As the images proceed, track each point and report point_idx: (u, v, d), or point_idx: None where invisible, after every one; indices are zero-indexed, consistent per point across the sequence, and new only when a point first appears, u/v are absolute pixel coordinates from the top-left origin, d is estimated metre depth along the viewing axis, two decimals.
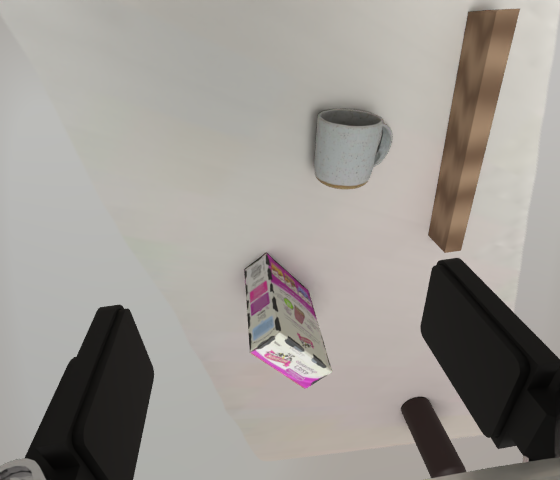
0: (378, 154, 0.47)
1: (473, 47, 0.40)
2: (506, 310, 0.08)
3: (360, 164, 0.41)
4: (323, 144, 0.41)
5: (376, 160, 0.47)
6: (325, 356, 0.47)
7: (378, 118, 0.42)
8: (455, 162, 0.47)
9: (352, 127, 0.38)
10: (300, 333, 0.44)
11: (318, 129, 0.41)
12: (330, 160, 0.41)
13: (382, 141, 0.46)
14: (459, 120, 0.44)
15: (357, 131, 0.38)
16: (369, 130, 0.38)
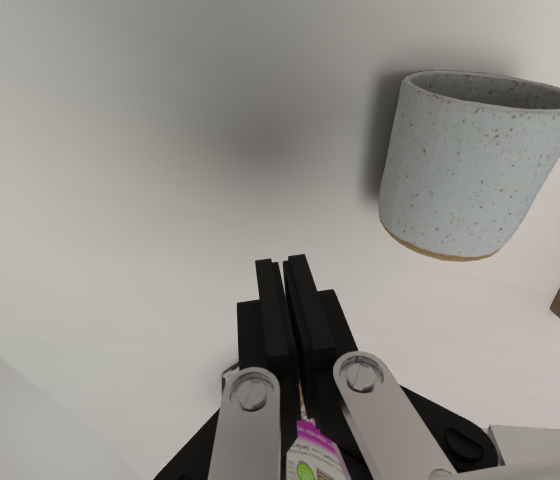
0: None
1: None
2: (316, 301, 0.09)
3: (515, 209, 0.16)
4: (420, 157, 0.16)
5: None
6: None
7: (554, 91, 0.17)
8: None
9: (526, 113, 0.13)
10: None
11: (406, 118, 0.16)
12: (438, 199, 0.16)
13: None
14: None
15: (538, 125, 0.13)
16: None
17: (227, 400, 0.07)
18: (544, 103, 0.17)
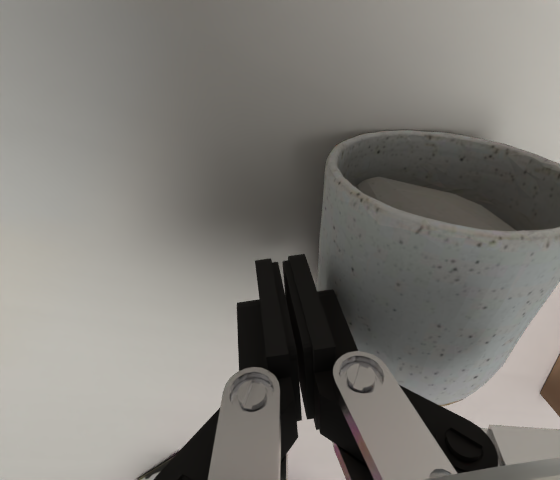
0: None
1: None
2: (316, 301, 0.09)
3: (495, 354, 0.10)
4: (349, 276, 0.10)
5: None
6: None
7: (549, 168, 0.11)
8: None
9: (501, 239, 0.08)
10: None
11: (329, 215, 0.11)
12: (378, 337, 0.11)
13: None
14: None
15: (522, 255, 0.08)
16: None
17: (227, 400, 0.07)
18: (536, 182, 0.12)
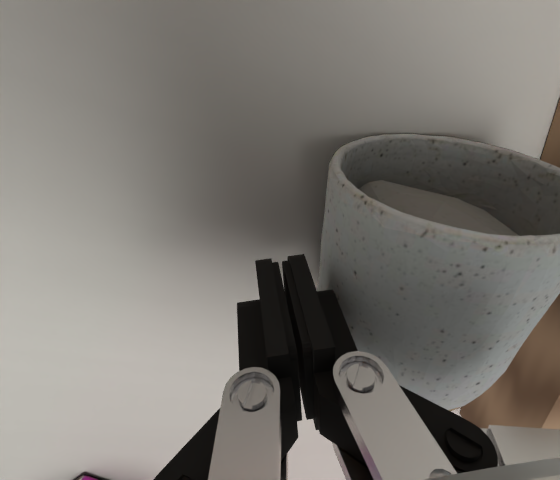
0: None
1: None
2: (315, 301, 0.09)
3: (498, 360, 0.10)
4: (351, 280, 0.10)
5: None
6: None
7: (553, 173, 0.11)
8: (554, 305, 0.16)
9: (506, 243, 0.08)
10: None
11: (331, 218, 0.11)
12: (380, 341, 0.10)
13: None
14: None
15: (528, 261, 0.08)
16: None
17: (227, 400, 0.07)
18: (540, 188, 0.12)
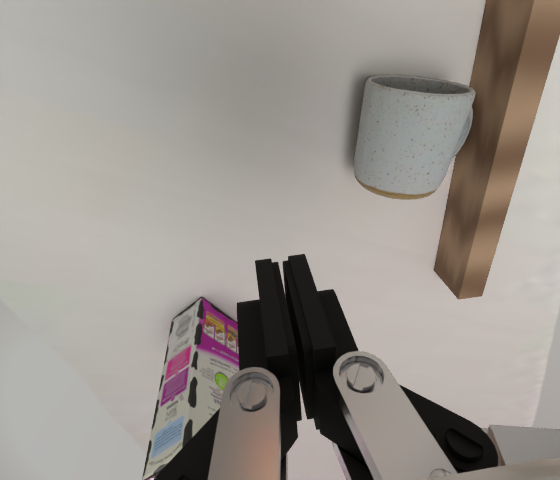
0: None
1: None
2: (316, 301, 0.09)
3: (435, 160, 0.25)
4: (376, 126, 0.25)
5: None
6: None
7: (462, 87, 0.26)
8: (475, 168, 0.30)
9: (432, 95, 0.22)
10: None
11: (367, 102, 0.25)
12: (387, 152, 0.25)
13: None
14: (483, 102, 0.28)
15: (439, 103, 0.22)
16: (459, 102, 0.23)
17: (227, 400, 0.07)
18: None
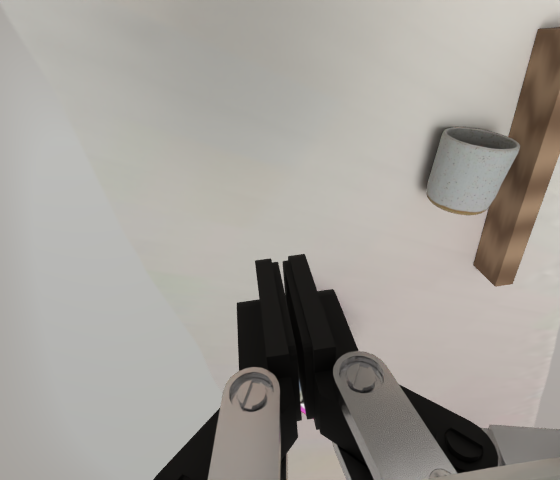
0: None
1: (544, 69, 0.36)
2: (316, 301, 0.09)
3: (491, 189, 0.37)
4: (452, 166, 0.37)
5: None
6: None
7: (509, 139, 0.38)
8: (513, 191, 0.42)
9: (494, 150, 0.34)
10: None
11: (445, 149, 0.37)
12: (459, 184, 0.37)
13: None
14: (520, 147, 0.40)
15: (499, 154, 0.35)
16: (511, 154, 0.35)
17: (227, 400, 0.07)
18: (505, 144, 0.39)
